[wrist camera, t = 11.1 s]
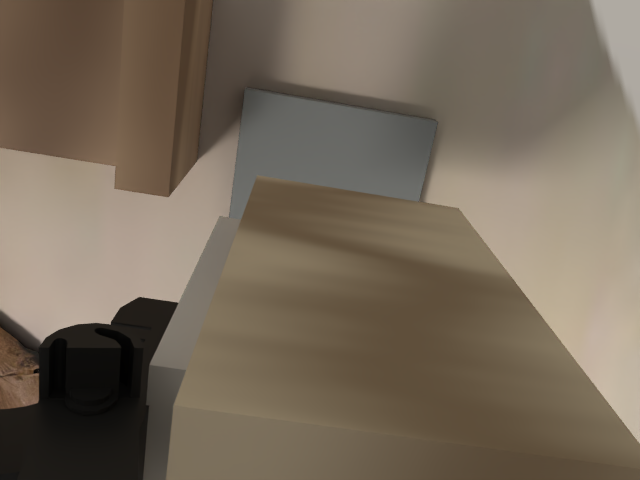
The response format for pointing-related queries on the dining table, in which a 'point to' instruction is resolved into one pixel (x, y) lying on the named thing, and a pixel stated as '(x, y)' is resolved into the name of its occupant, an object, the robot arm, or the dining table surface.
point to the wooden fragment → (17, 373)
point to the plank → (106, 84)
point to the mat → (329, 147)
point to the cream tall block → (381, 356)
